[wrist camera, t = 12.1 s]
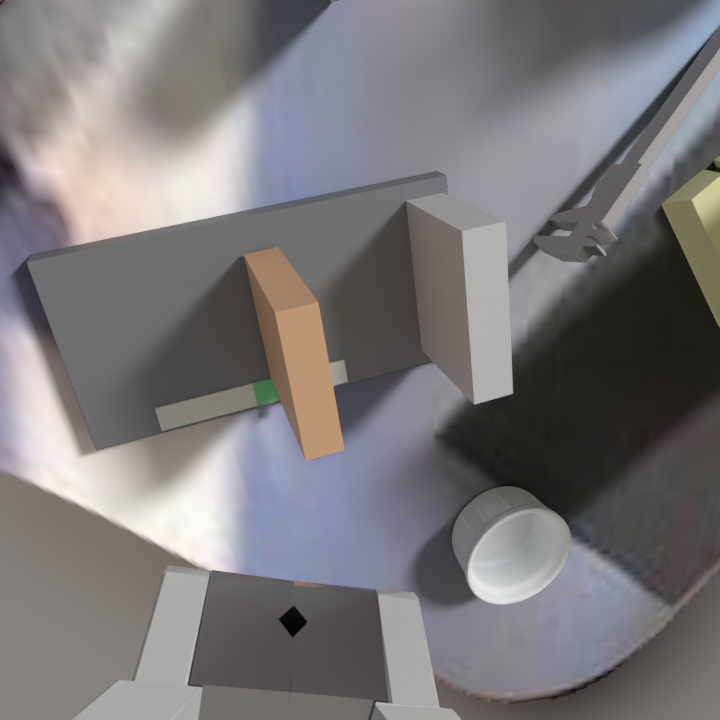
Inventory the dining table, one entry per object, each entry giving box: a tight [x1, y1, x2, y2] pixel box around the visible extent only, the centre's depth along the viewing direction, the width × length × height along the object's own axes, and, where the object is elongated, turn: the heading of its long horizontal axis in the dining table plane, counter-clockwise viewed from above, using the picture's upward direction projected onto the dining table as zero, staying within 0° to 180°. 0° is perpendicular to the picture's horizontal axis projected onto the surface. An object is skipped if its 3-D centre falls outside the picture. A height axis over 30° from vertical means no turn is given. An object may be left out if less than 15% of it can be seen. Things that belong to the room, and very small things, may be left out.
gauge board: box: [27, 171, 513, 451], centre depth 38 cm, size 24×12×10 cm, turn 98°
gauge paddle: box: [244, 247, 344, 461], centre depth 37 cm, size 2×10×10 cm, turn 8°
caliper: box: [533, 27, 720, 263], centre depth 43 cm, size 20×1×6 cm, turn 137°
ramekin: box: [452, 486, 571, 604], centre depth 54 cm, size 9×9×4 cm
